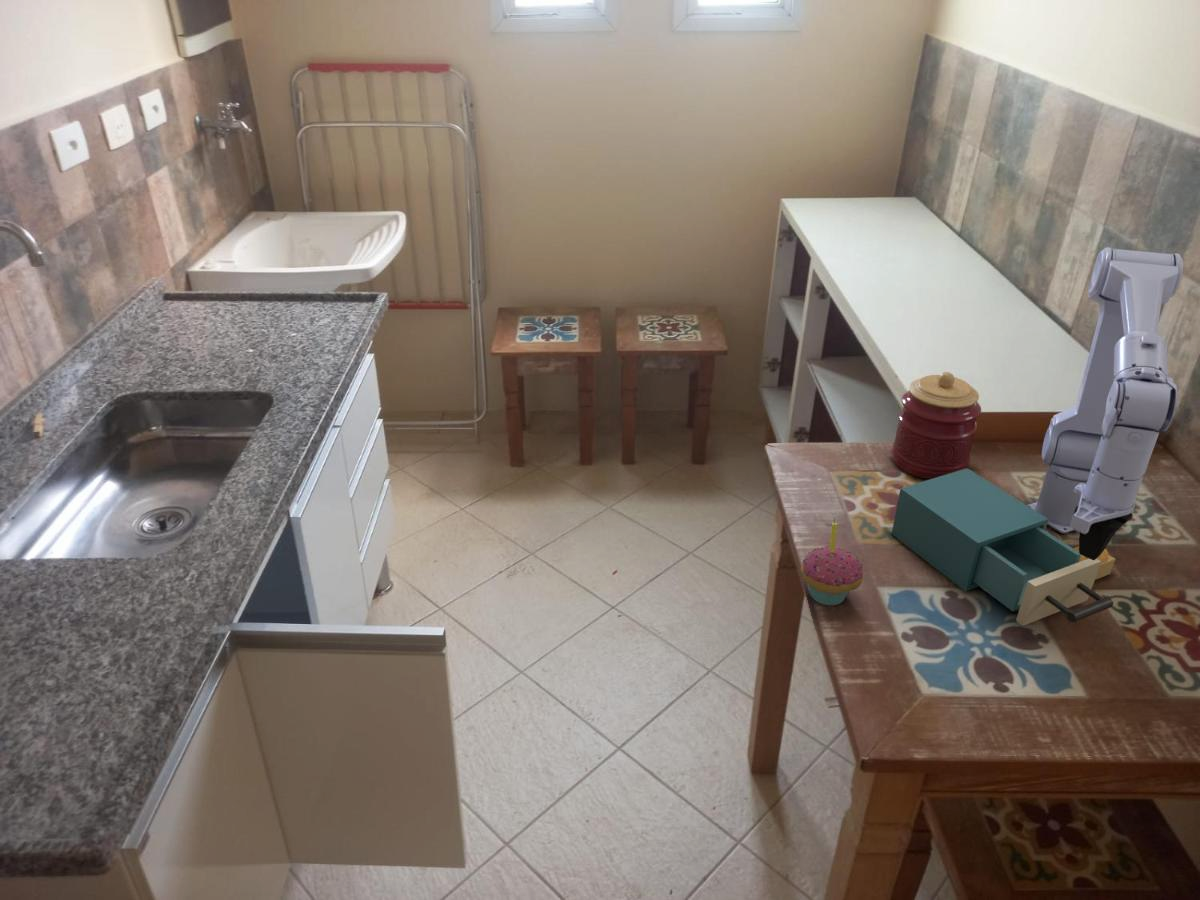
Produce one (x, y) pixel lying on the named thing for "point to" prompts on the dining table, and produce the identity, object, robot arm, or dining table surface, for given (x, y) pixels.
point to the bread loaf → (1104, 565)
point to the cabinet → (958, 521)
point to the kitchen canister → (936, 426)
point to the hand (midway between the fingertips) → (1088, 555)
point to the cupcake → (831, 572)
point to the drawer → (1038, 576)
